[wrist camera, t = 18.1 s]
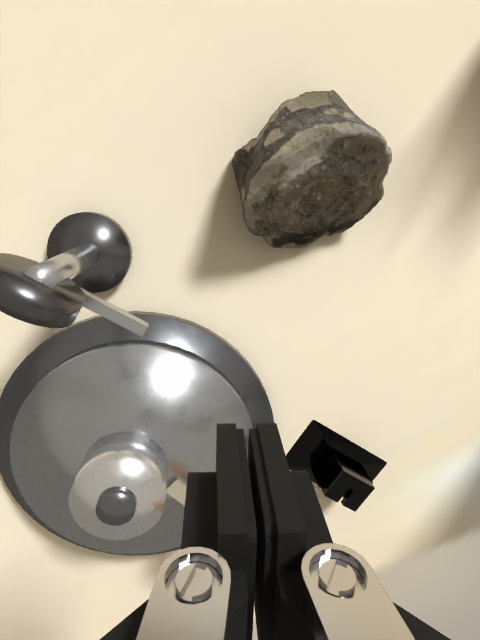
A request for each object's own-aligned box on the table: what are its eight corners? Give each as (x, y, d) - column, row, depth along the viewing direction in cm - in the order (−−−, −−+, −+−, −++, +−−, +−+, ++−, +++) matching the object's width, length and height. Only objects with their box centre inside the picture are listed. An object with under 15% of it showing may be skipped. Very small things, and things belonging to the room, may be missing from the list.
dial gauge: (179, 258, 33) (169, 301, 19) (143, 321, 34) (110, 402, 20) (72, 196, 30) (-22, 196, 17) (38, 265, 32) (-75, 316, 18)
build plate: (261, 460, 39) (270, 492, 35) (306, 401, 38) (320, 428, 34) (358, 510, 43) (377, 546, 38) (403, 458, 41) (427, 489, 37)
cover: (121, 415, 33) (110, 451, 28) (185, 465, 35) (184, 505, 30) (64, 471, 34) (44, 514, 29) (129, 516, 36) (120, 563, 31)
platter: (126, 289, 31) (109, 311, 25) (298, 439, 37) (319, 488, 31) (-34, 458, 34) (-85, 516, 28) (149, 575, 40) (140, 644, 33)
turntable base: (322, 391, 37) (326, 396, 36) (191, 578, 42) (191, 587, 41) (74, 256, 32) (70, 258, 31) (-46, 489, 36) (-52, 497, 35)
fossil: (286, 280, 33) (267, 251, 24) (222, 197, 35) (179, 139, 25) (397, 194, 32) (426, 126, 22) (325, 113, 34) (322, 16, 24)
